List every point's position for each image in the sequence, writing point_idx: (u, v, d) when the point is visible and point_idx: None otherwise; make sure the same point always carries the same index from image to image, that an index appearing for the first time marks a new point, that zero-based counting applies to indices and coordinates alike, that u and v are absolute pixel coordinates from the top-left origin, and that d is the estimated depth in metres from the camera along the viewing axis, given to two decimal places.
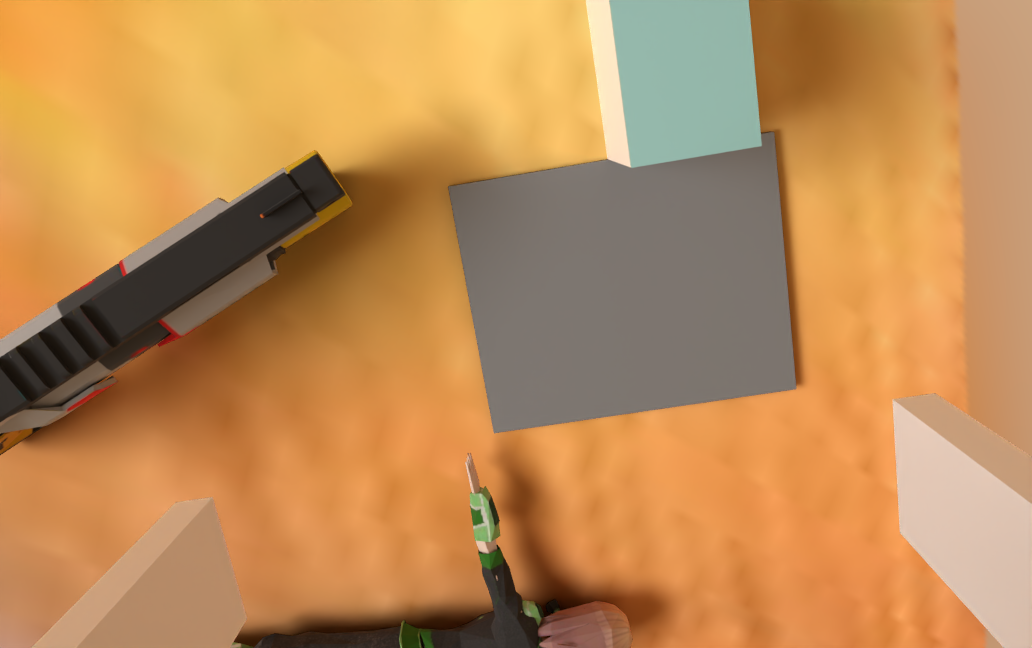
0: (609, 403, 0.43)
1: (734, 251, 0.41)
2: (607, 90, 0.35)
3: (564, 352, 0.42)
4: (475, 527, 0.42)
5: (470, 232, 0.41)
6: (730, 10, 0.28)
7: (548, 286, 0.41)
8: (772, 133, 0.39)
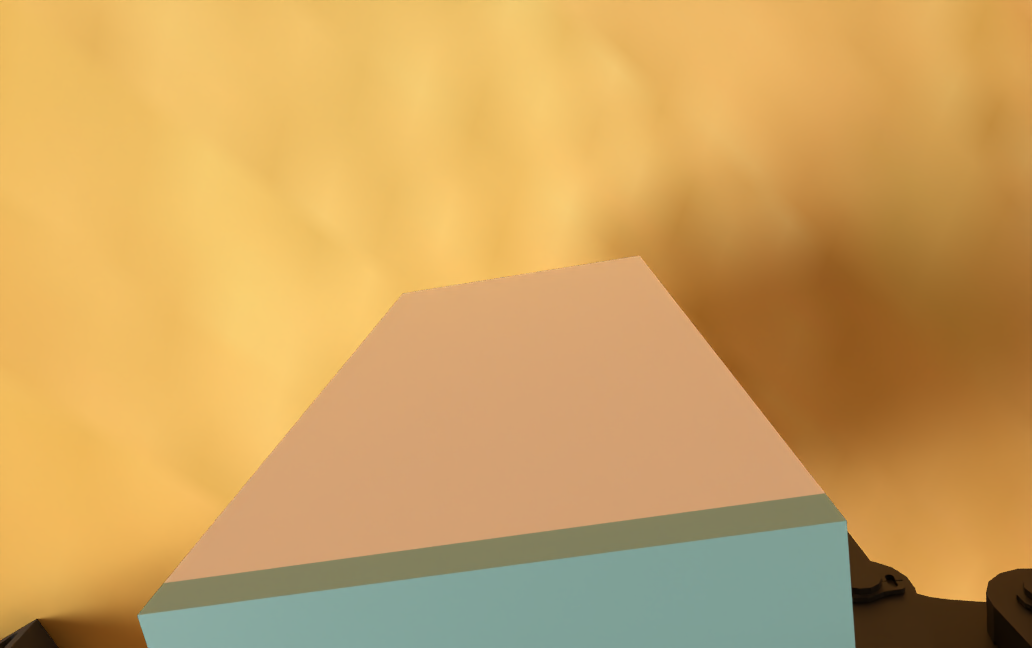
0: None
1: None
2: None
3: None
4: None
5: None
6: None
7: None
8: None
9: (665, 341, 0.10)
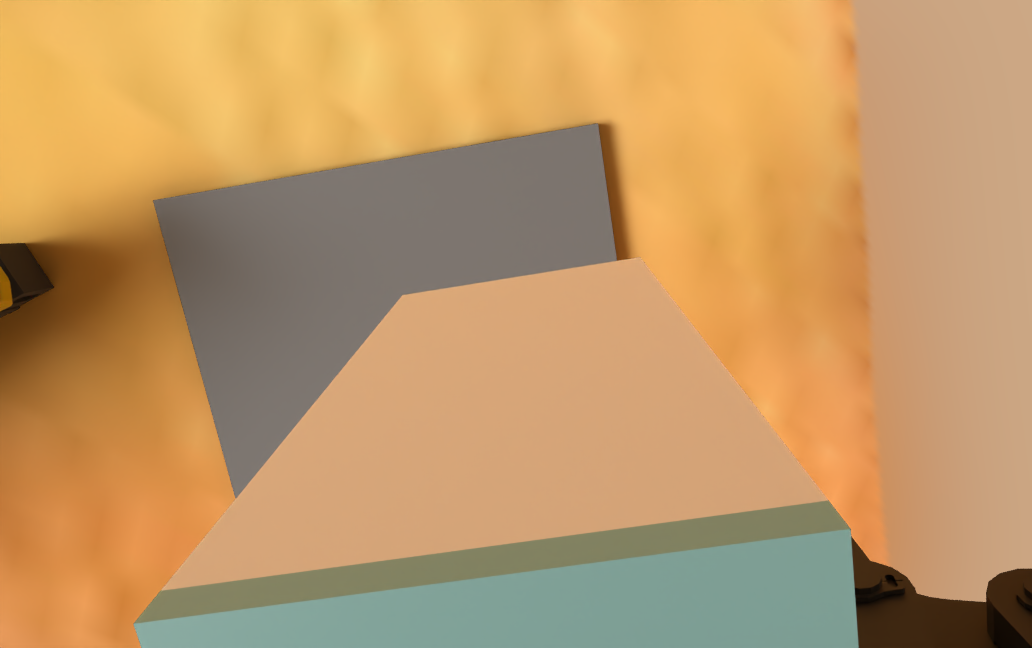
0: None
1: None
2: None
3: None
4: None
5: (189, 263, 0.30)
6: None
7: (301, 336, 0.30)
8: (595, 125, 0.28)
9: (667, 344, 0.10)
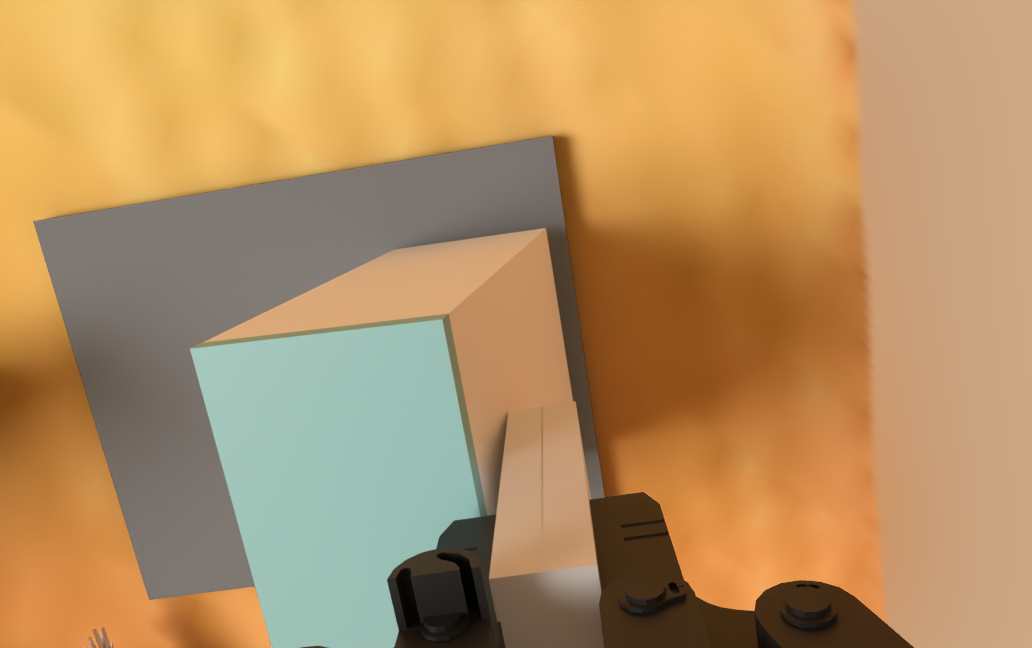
0: None
1: None
2: None
3: None
4: None
5: (77, 294, 0.25)
6: (436, 478, 0.14)
7: None
8: (549, 138, 0.24)
9: (482, 269, 0.18)
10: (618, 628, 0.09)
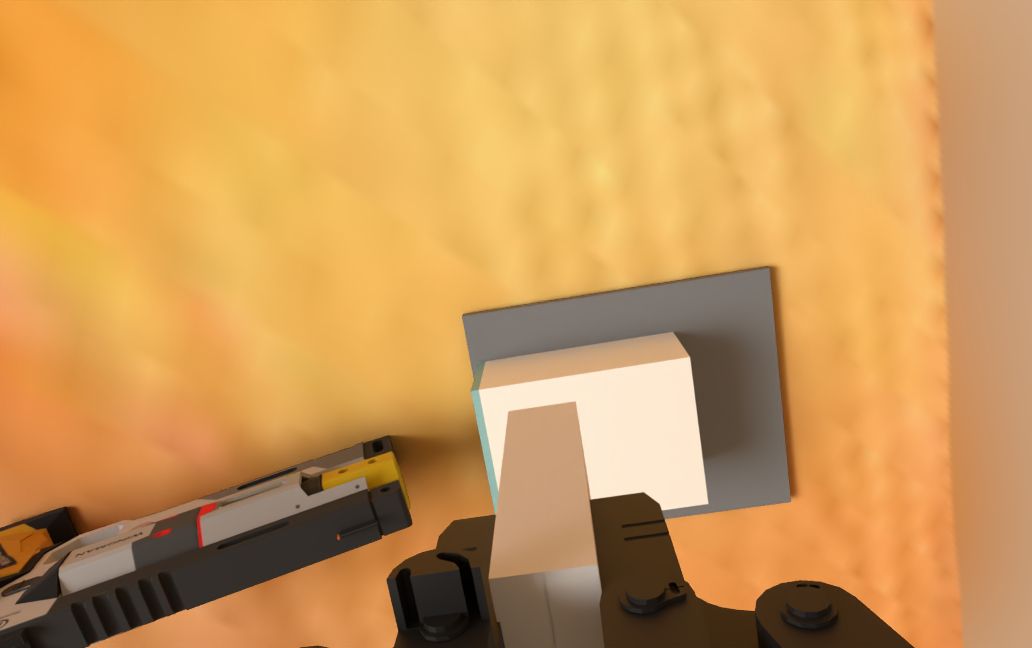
0: None
1: (732, 376, 0.43)
2: None
3: None
4: None
5: (482, 357, 0.43)
6: None
7: None
8: (768, 269, 0.42)
9: (563, 374, 0.39)
10: (618, 629, 0.09)
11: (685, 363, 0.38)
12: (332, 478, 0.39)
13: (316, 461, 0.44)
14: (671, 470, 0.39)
